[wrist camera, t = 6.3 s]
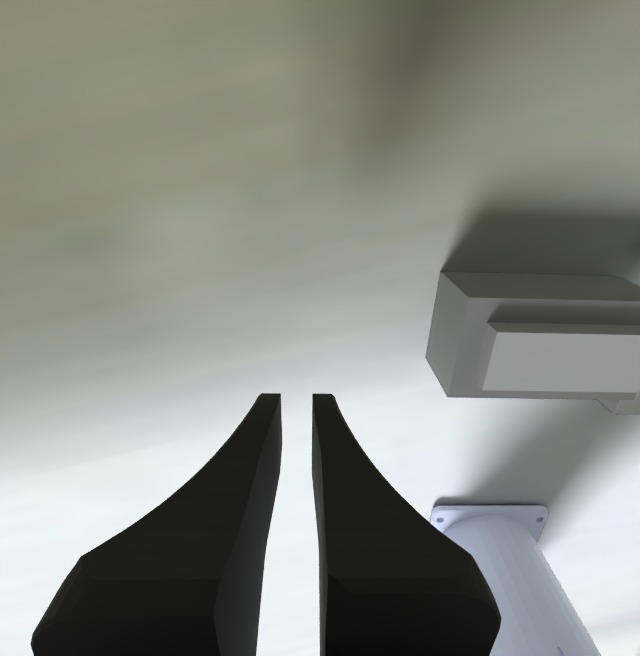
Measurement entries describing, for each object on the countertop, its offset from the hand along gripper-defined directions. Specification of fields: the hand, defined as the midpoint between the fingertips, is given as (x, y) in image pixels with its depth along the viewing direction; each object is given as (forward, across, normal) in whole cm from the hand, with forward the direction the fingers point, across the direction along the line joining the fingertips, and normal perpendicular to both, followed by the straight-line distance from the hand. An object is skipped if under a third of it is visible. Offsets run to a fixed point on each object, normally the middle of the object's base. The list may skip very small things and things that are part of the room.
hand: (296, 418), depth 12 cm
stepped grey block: (+9, -11, 0) cm, 14 cm away
